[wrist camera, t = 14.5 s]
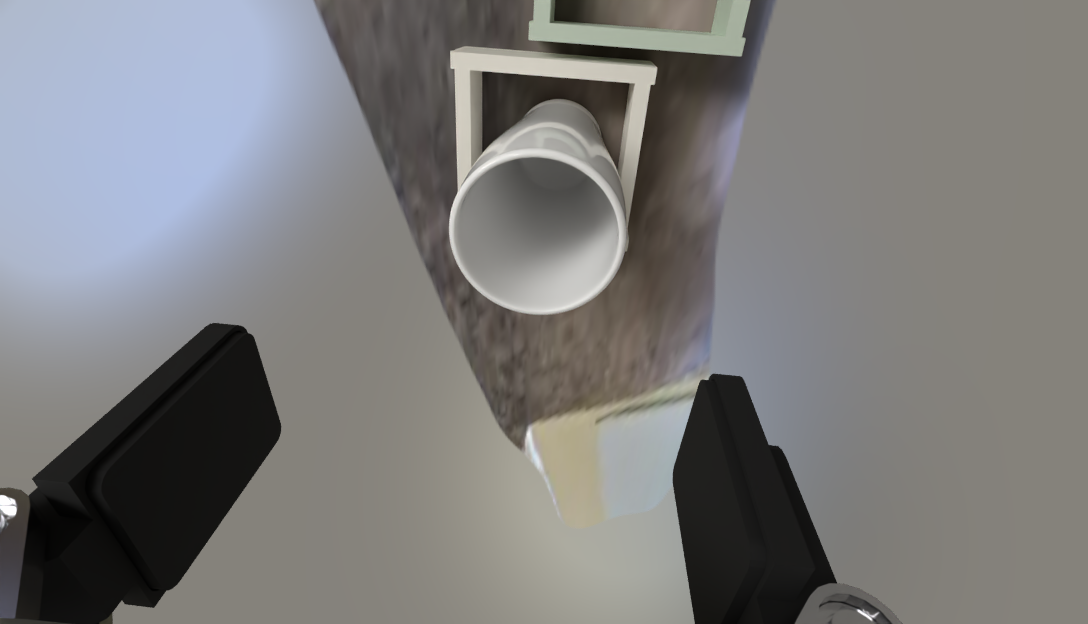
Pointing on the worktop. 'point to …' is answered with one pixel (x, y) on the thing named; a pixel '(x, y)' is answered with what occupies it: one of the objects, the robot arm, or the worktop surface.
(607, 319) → the worktop surface
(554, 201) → the white cup
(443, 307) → the worktop surface
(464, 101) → the cream frame
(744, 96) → the worktop surface
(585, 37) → the sage frame
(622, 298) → the worktop surface
